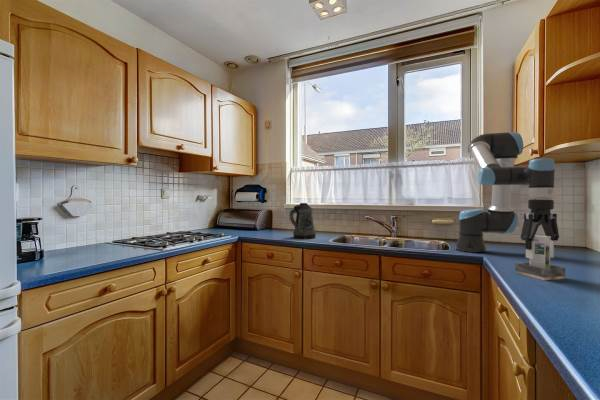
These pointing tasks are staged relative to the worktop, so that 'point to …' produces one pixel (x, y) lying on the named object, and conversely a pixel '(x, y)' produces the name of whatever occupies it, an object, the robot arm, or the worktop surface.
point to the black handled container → (303, 222)
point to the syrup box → (541, 252)
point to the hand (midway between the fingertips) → (539, 257)
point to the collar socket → (540, 271)
